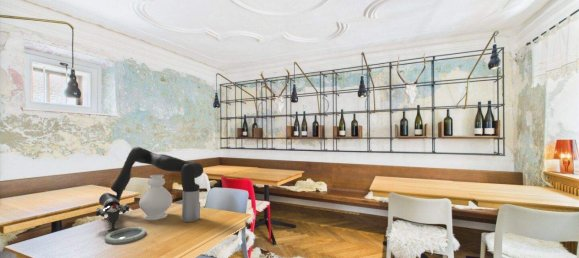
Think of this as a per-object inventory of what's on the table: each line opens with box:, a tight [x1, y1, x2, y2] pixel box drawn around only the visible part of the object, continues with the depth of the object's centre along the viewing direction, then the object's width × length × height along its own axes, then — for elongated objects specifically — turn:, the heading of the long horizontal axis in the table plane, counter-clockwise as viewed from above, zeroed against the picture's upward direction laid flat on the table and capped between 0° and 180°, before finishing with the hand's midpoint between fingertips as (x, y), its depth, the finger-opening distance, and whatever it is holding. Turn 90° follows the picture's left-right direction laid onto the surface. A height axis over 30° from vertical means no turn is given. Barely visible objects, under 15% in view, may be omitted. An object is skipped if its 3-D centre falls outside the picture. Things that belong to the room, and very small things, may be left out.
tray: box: [104, 226, 147, 245], centre depth 120 cm, size 17×17×2 cm
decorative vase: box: [138, 173, 173, 221], centre depth 150 cm, size 18×18×25 cm
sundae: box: [106, 202, 121, 233], centre depth 128 cm, size 7×7×15 cm
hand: (113, 213), depth 127 cm, fingers open, 8 cm apart
